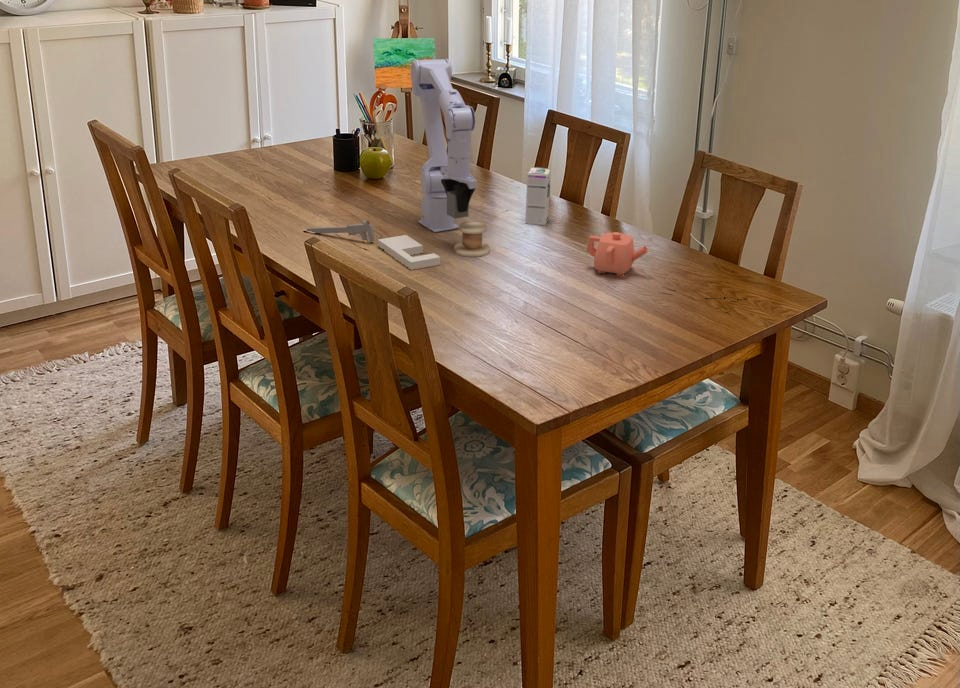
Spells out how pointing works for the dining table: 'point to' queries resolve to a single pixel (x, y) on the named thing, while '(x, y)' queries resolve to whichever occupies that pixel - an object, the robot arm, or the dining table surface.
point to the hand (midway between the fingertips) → (457, 209)
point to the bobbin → (472, 240)
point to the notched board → (408, 252)
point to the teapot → (614, 252)
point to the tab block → (454, 206)
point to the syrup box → (538, 196)
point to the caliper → (348, 230)
